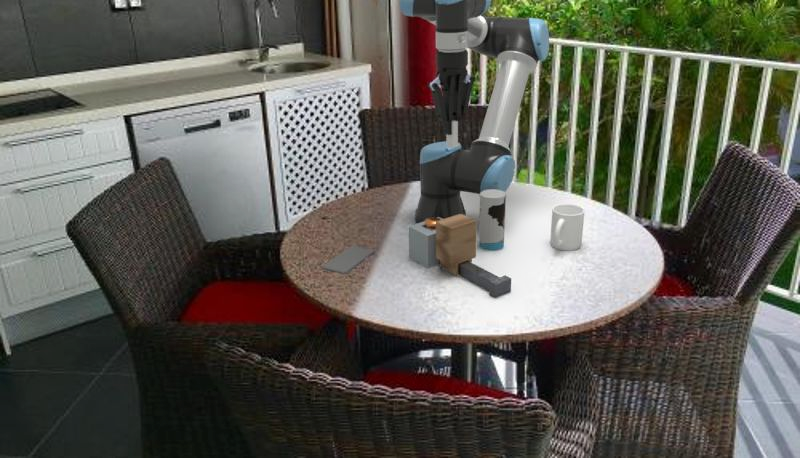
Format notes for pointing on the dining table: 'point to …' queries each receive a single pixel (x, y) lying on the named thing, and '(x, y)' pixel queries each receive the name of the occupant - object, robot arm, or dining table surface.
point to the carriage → (455, 241)
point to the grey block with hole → (422, 245)
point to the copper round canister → (431, 223)
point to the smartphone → (348, 259)
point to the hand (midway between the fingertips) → (452, 146)
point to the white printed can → (492, 219)
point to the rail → (484, 279)
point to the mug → (567, 226)
